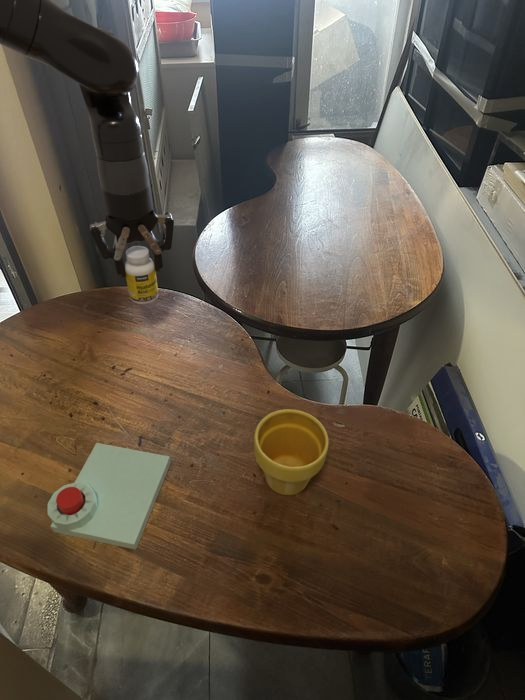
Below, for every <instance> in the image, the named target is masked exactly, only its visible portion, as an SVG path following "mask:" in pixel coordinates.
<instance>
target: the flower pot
mask: <svg viewBox="0 0 525 700" xmlns="http://www.w3.org/2000/svg"><path fill="white" fill-rule="evenodd" d="M259 421H260V422H259V423H258V424H257V426H256V428H255V430H254V435H253V452H254V453H253V454H254V457H255V460H256V461H255V462H257V464H258V466H259V467H260V468H261V470H262V472H263V476H264V479H265V482H266V484H267V486H268V487H269V488H270V489H271V490H272V491H273V492H275V493H277V494H278V495H282V496H294V495H297V494H300V493H301V492H302V491H303V490H305V489H306V487H307V486H308V484H309V482H310V481H311V479H312V478H313V477H314V476H316V475H317V474H318V473H319V472H320V471H321V470H322V468H323V467H324V464H325V462H326V458H327V455H328V452H329V444H330V443H329V442H330V440H329V435H328V432H327V430H326V428H325V427H324V425H323V424H322V422H321V421H319V419H317V417H315V416H313V415H311V414H310V413H308V412H306V411H303V410H300V409H299V410H298V409H290V408H288V409H278V410H275V411H272V412H270V413H268V414H267V415H266V416H264V417H263V418H262V419H261V420H259Z"/></svg>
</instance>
